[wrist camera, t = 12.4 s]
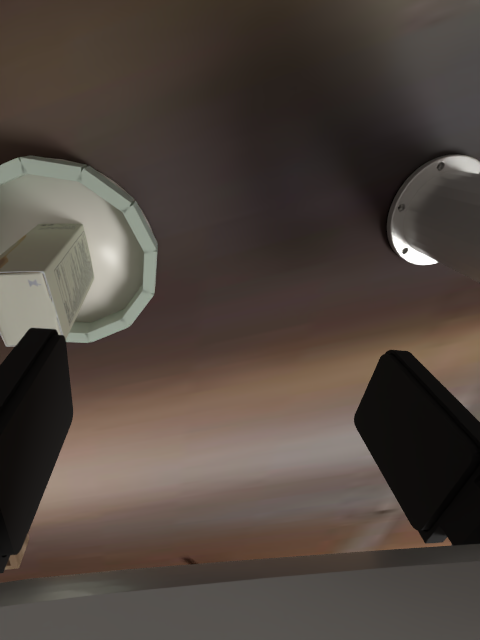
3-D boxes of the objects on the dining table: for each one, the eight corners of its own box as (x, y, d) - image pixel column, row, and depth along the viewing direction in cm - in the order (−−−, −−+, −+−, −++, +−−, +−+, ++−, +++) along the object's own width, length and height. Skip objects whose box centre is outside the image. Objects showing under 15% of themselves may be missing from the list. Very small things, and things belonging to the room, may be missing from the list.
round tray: (162, 175, 33) (161, 180, 30) (152, 330, 41) (151, 345, 38) (-52, 140, 29) (-78, 141, 26) (-14, 320, 37) (-30, 337, 34)
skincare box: (36, 223, 32) (-29, 268, 22) (84, 222, 33) (43, 266, 22) (53, 284, 35) (3, 349, 25) (96, 282, 36) (65, 345, 26)
